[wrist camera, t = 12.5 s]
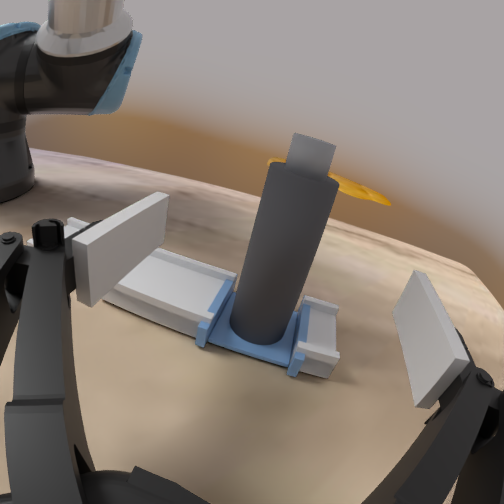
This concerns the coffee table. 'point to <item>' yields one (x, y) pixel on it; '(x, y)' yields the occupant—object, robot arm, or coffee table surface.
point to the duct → (220, 310)
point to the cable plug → (284, 240)
